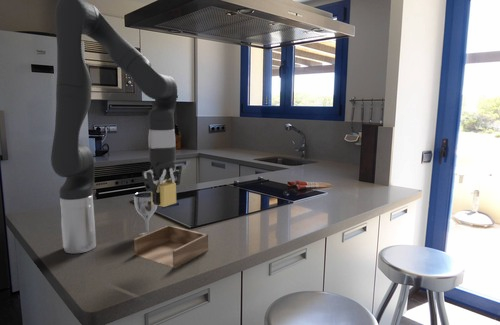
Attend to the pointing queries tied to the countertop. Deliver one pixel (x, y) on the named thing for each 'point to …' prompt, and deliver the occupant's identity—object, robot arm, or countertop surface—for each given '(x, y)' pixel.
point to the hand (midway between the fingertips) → (163, 202)
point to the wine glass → (144, 207)
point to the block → (167, 194)
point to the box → (171, 245)
